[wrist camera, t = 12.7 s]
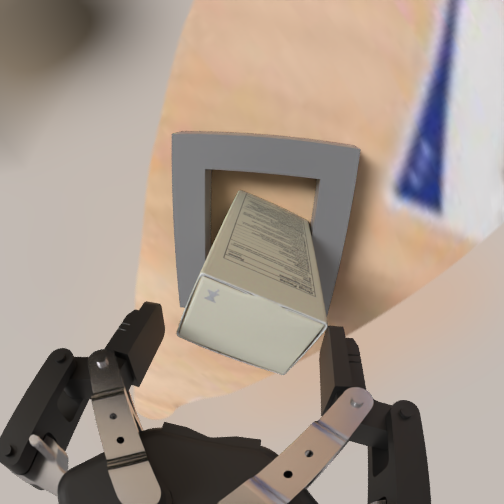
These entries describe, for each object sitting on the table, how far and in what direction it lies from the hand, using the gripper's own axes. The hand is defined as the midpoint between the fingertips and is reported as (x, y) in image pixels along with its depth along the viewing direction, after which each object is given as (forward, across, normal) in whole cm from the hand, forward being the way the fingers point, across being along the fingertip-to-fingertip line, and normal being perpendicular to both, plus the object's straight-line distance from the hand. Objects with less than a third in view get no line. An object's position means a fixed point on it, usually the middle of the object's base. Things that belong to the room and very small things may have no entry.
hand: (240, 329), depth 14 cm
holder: (+12, 0, 0) cm, 12 cm away
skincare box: (+12, 0, 0) cm, 12 cm away
